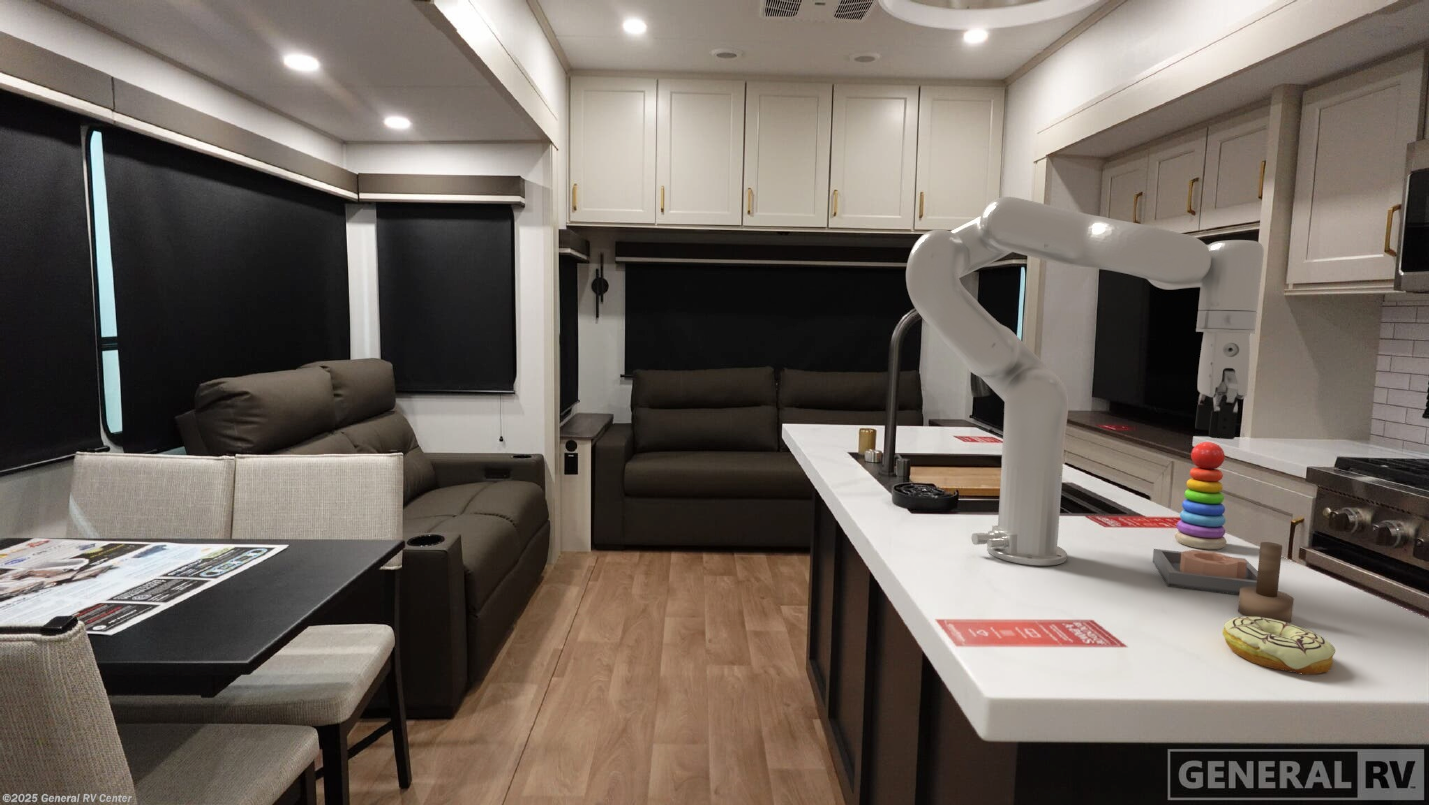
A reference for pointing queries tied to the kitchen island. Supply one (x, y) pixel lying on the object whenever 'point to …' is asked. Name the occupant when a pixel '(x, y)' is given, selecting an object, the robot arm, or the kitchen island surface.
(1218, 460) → the stacking toy
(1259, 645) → the decorated donut
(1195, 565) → the ring
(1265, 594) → the rod
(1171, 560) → the tray
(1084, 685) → the kitchen island surface
